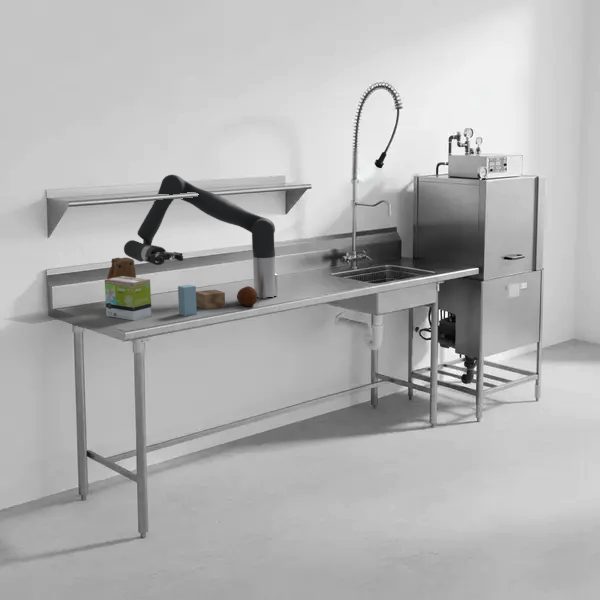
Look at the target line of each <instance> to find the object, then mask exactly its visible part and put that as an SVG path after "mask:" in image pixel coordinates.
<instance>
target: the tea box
mask: <svg viewBox="0 0 600 600" xmlns="http://www.w3.org/2000/svg"><path fill="white" fill-rule="evenodd" d="M104 291H105V309H106V310H105V313H106V317H110V318H117V319H118V318H119V319H124V320H129V321H133V320H135V321H138V320H142V319H146V318H150V317H152V297H151V296H152V295H151V294H152V292H151V279H149V278H148V279H147V278H141V277H136V278H134V277H126V276H121V277H116V278H111V279H107V278H106V279H104Z"/></svg>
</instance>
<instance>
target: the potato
mask: <svg viewBox="0 0 600 600" xmlns="http://www.w3.org/2000/svg"><path fill="white" fill-rule="evenodd" d="M236 300H237V302H238V303H240V304H241V305H243V306H245V307H252V306H254V305H255V304H256V302H257V300H258V298H257V292H256V291H255V289H254V287H252V286H248V285H247V286H245V287H242V288H240V289H239V291H238V292H237V295H236Z"/></svg>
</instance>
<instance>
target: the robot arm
mask: <svg viewBox="0 0 600 600" xmlns="http://www.w3.org/2000/svg"><path fill="white" fill-rule="evenodd" d="M187 192H196V193H198V194H199V195H198V197H193V198H183V199H180V200H181V201H184V202H186V203H189V204H190V205H193V206H194V207H195V208H197V209H198V210H199V211H201V212H203V213H205V214H206V215H207V216H210V217H212V218H214V219H217V220H218V221H220V222H223V223H226V224H229V225H233V226H236V227H240V228H242V229H244V230H246V231H248V232H250V233H251V245H252V247H251V250H252V255H253V256H252V261H253V262H252V264H253V265H252V267H253V289H255V291H256V292H257V297H258V298H257V299H267V298H266V297H273V298H275V297H274V296H276V297H278V296H277V295H278V274H277V273H276V250H275V232H276V227H275V224H274V222H273V221H272V220H271V219H269V218H266V217H263V216H261V215H258V214H255V213H254V212H253V213H252V212H250V211H248V210H246V209H244V208H243V207H241V206H239V205H237V204H236V203H235V202H232V201H231V200H229V199H226V198H224V197H222V196H220V195H218V194H215V193H213V192H211V191H207V190H204V189H202V188H199V187H198V186H195V185H194V184H192V183H190V182H188V181H187V180H185V179H183V178H182V177H181V176H179V175H177V174H168V175H166V176H165V177H164V178H163V179H162V180H161V184H160V186H159V189H158V192H157V195H158V194H169V195H173V194H180V193H187ZM174 200H175V199H163V200H156V201H155V200H154V201H153V204H152V206H151V207H150V209H149V211H148V212H147V214H146V216H145V218H144V220H143V221H142V223H141V225H140V226H139V229H138V231H137V235H138V237H140V239H142V240H143V242H139V241H137V240H134V239H132V240H131V239H130V240H128V241H127V242H126V243H125V244H124V245H123V252H124V254H125V255H126V256H127V257H128V258H130V259H133V260H136V261H138V262H146V263H148V264H152V265H154V266H161V265H163V264H165V262H174V261H179V262H183V260H184V256H183V253H182V252H176V251H174V252H171V251H170V252H169V251H167V250H166V249H165V248H164V247H162V246H158V245H153V244H152V243H153V240H154V237H155V236H156V234H157V232H158V231H159V229H160V227H161V224H162V222H163V220H164V218H165V215H166V213H167V211H168V209H169V207H170V206H171V204H172V202H173V201H174Z"/></svg>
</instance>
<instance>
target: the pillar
mask: <svg viewBox="0 0 600 600" xmlns="http://www.w3.org/2000/svg"><path fill="white" fill-rule="evenodd" d="M177 290H178V291H177V293H178V294H177V297H178V314H179V315H181V316H184V317H186V316H187V317H188V316H195V315H197V314H198V313H197V312H198V311H197V309H198V308H197V306H196V291H197V288H196V285H192V284H183V285H178V286H177Z"/></svg>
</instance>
